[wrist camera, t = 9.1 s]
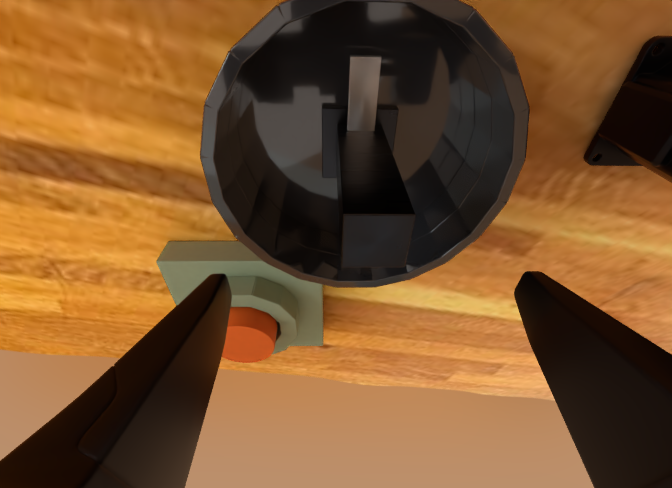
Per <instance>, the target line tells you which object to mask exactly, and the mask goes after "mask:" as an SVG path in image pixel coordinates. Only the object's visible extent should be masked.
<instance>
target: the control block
mask: <svg viewBox="0 0 672 488" xmlns="http://www.w3.org/2000/svg"><path fill="white" fill-rule="evenodd" d="M156 262H157V264H158V267H159V269H160V271H161V273H162V275H163V277H164V280H165V282H166V284H167V286H168V288H169V290H170V293H171V295H172V297H173V299H174V301H175V303H176V306H177V305H178V304H179V303H180V302H181V301H182V300H183V299H185V298H186V297H187V296H188V295H189V294H190V293H191V292H192V291H193V290H194V289H195V288H196V287H197V286H198V285H200V284H201V283H202V282H203V281H204V280H205V279H206V278H207V277H208V276H209V275H211V274H219V273H223V274H226V276H227V278H228V282H229V285H230V289H231V292H232V301H231V307H252V308H255V309H258V310H261V311H264V312H267V313H269V314H270V315H271V316H272V317H273V318H274V319H275V320H276V322H277V334H276V341H275V348H274V351H273V353H272V354H275V353H278V352H281V351H283V350H286V349H287V348H288V347H289V346H323V285H322V284H318V283H313V282H309V281H304V280H300V279H298V278H295V277H293V276H291V275H289V274H287V273H285V272H283V271H281V270H279V269H277V268H275V267H273V266H271V265H269V264H267V263H266V262H264V261H262V260H261V259H260V258H259V257H258V256H257V255H255V254H254V253H253V252H252V251H251V250H250V249H248V248H247V247H246V246H245V245H244V244H243V243H241V242H240V241H169V242H168V243H167V245H166V246H165V248H164V250H163V251H162V253H161V254H160V256H159V258H158V259H157V261H156ZM272 354H271V355H272Z"/></svg>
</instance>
